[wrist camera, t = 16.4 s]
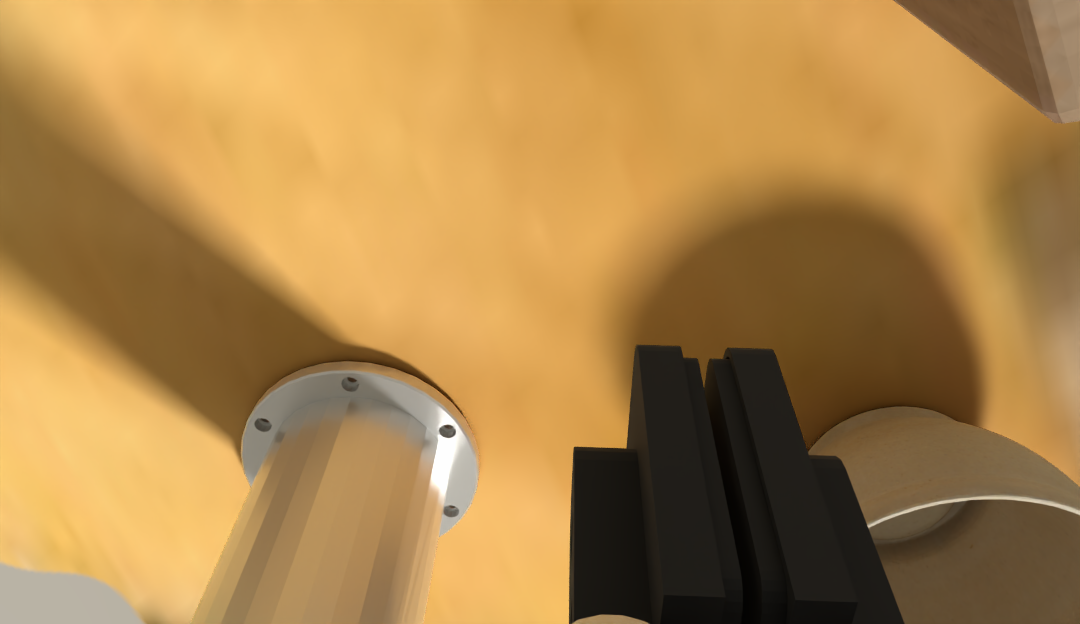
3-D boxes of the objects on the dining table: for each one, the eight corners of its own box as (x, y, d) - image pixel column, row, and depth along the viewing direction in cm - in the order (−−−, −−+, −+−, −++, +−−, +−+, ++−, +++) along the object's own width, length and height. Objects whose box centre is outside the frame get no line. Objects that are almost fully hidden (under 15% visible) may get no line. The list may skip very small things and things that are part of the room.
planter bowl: (1105, 385, 46) (1241, 545, 36) (955, 602, 54) (1034, 777, 45) (800, 314, 44) (860, 462, 35) (693, 548, 53) (718, 718, 43)
